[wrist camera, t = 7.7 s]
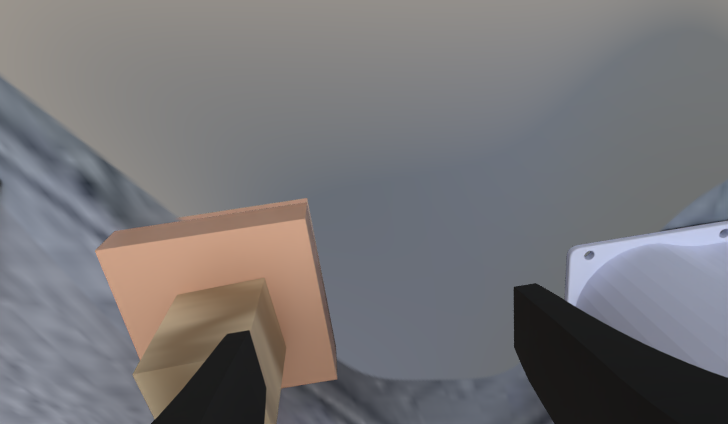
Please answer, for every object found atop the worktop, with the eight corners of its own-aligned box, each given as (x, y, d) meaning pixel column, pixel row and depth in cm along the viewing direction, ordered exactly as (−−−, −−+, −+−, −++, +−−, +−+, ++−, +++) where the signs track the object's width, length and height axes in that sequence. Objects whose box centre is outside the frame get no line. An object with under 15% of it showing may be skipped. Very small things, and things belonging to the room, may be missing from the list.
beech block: (264, 277, 20) (245, 352, 16) (286, 347, 22) (274, 434, 17) (177, 294, 20) (132, 374, 16) (205, 363, 22) (172, 454, 17)
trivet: (307, 198, 22) (305, 218, 19) (336, 346, 25) (337, 379, 23) (119, 226, 21) (94, 250, 19) (175, 372, 25) (160, 407, 23)
